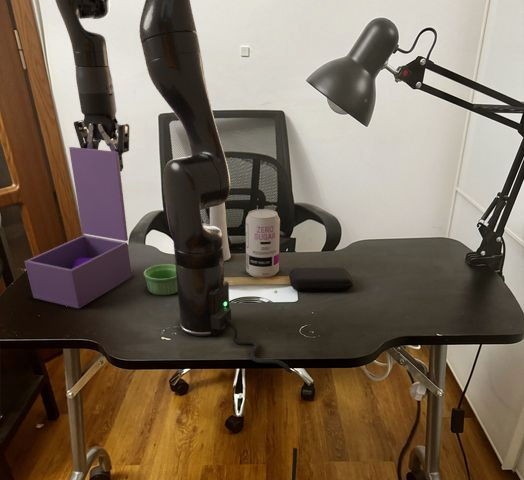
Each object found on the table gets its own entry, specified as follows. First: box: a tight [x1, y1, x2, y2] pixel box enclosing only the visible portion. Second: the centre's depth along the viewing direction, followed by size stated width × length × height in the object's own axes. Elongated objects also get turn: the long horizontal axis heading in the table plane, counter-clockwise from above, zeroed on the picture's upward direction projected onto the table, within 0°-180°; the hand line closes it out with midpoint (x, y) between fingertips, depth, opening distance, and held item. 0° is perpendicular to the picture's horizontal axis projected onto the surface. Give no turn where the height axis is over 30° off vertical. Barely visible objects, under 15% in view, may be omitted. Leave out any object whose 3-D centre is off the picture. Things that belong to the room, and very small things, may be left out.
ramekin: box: [143, 263, 178, 296], centre depth 121 cm, size 9×9×4 cm
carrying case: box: [288, 266, 354, 292], centre depth 124 cm, size 11×3×15 cm
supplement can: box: [245, 208, 281, 279], centre depth 127 cm, size 8×8×15 cm
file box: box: [24, 234, 133, 310], centre depth 120 cm, size 19×13×9 cm
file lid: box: [68, 146, 129, 242], centre depth 122 cm, size 20×13×5 cm
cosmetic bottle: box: [209, 201, 231, 262], centre depth 133 cm, size 6×6×22 cm
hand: (107, 170), depth 121 cm, fingers closed on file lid, 5 cm apart
